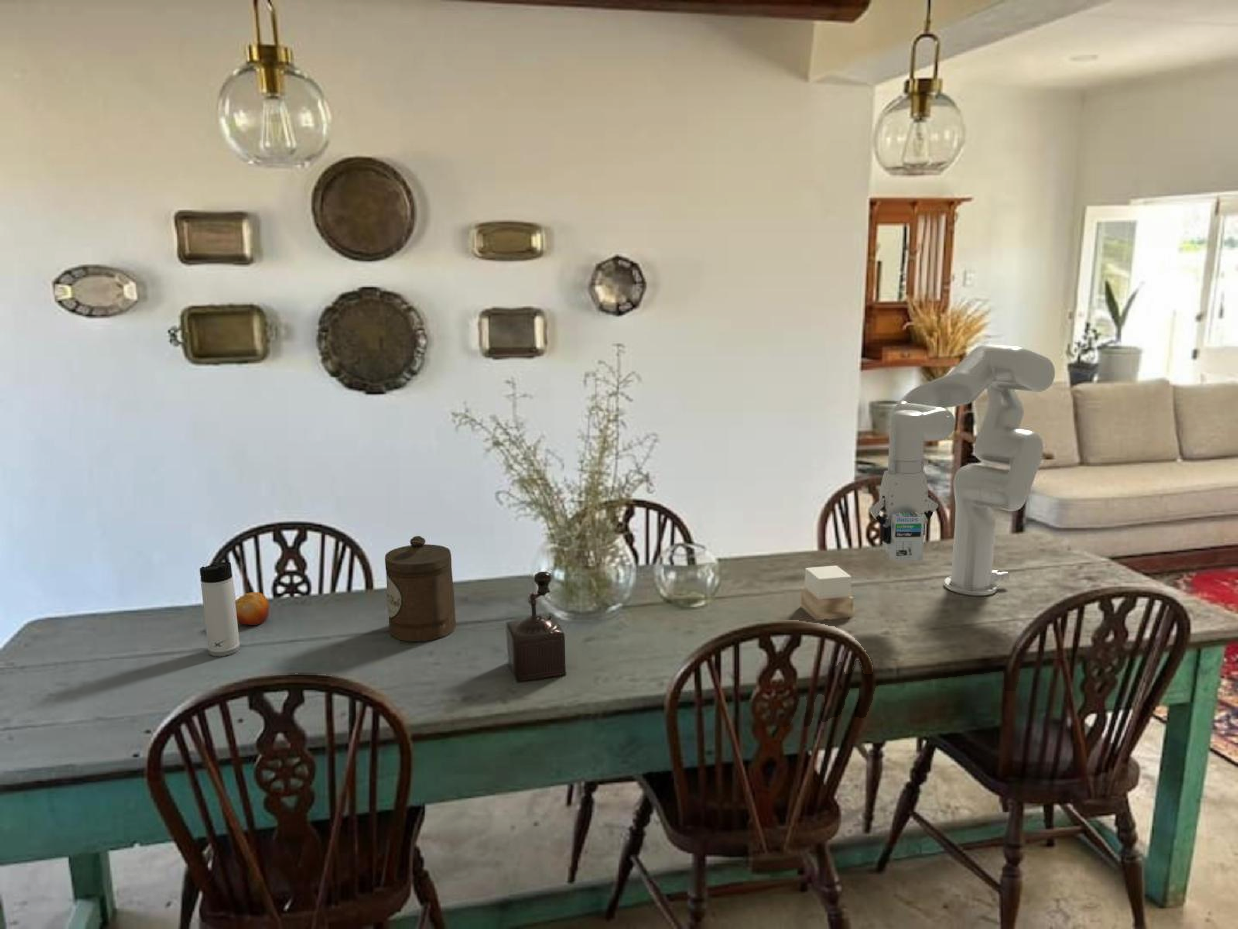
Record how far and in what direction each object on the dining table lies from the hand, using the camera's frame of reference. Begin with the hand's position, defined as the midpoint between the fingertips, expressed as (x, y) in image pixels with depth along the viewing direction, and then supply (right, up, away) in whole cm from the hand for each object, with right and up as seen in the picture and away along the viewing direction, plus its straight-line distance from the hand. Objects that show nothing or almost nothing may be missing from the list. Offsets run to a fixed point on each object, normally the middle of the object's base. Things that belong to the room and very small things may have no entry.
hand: (902, 540), depth 214 cm
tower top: (-16, -13, +7) cm, 22 cm away
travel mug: (-150, -23, -11) cm, 153 cm away
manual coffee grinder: (-82, -25, -19) cm, 88 cm away
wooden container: (-110, -21, 0) cm, 112 cm away
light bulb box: (0, -4, +1) cm, 4 cm away
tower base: (-16, -18, +8) cm, 25 cm away
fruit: (-150, -20, +5) cm, 152 cm away
